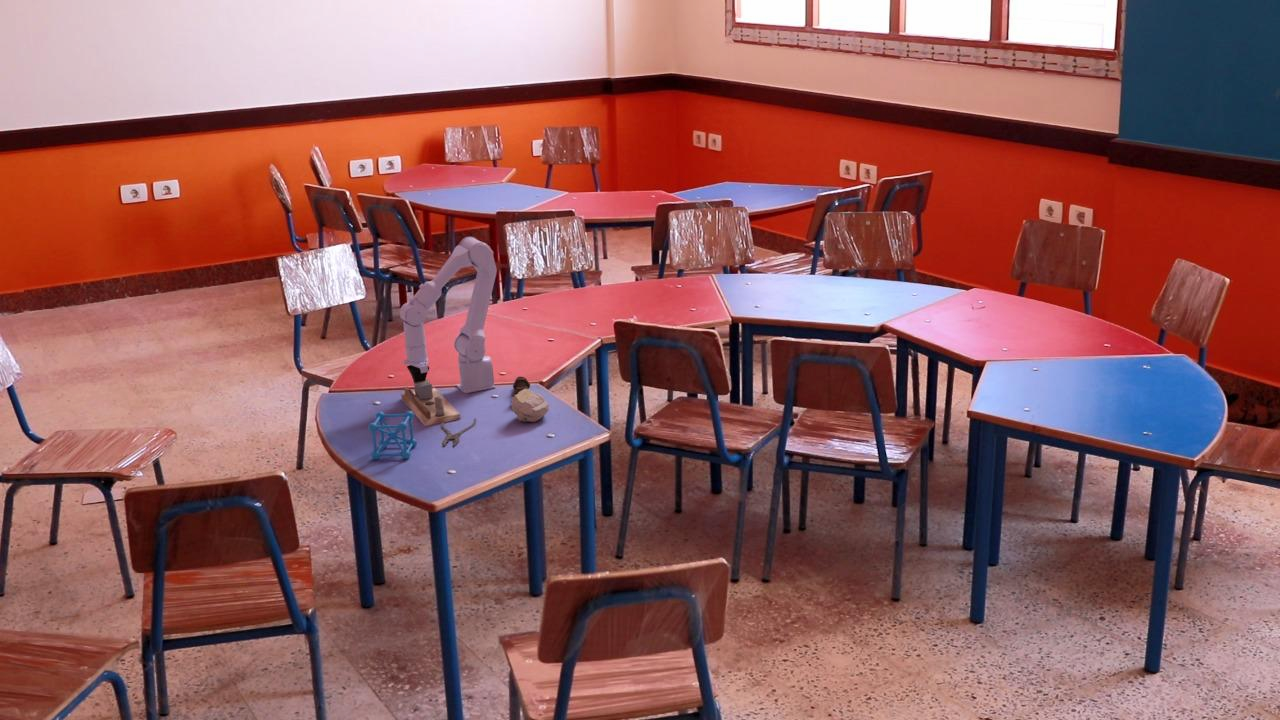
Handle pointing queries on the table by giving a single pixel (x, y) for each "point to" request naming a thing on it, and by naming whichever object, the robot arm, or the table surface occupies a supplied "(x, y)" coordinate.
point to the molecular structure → (392, 435)
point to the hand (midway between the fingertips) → (420, 389)
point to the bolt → (520, 385)
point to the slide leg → (423, 390)
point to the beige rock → (529, 406)
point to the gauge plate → (430, 407)
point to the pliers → (454, 436)
